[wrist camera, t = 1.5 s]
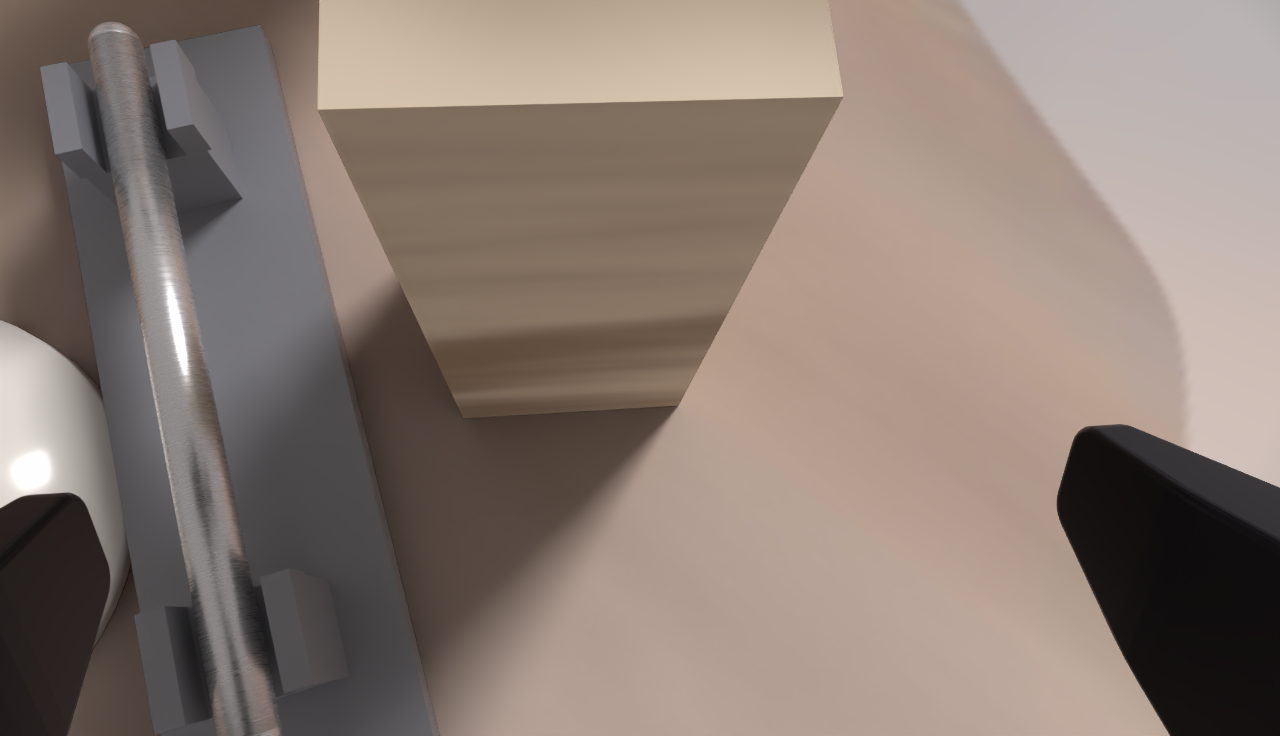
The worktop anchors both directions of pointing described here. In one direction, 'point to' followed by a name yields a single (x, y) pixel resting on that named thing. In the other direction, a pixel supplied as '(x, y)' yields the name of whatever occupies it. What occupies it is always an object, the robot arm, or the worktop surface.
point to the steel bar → (183, 393)
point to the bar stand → (244, 401)
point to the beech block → (574, 177)
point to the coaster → (59, 443)
